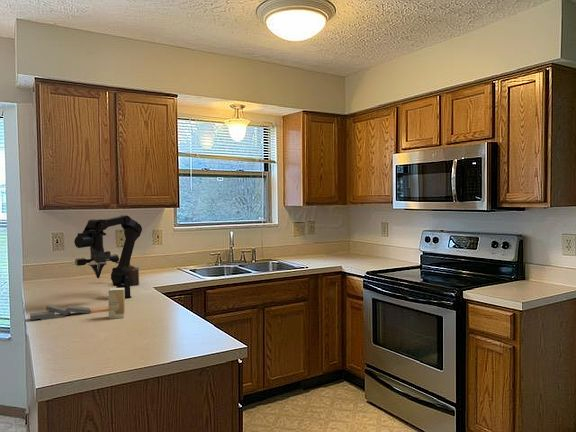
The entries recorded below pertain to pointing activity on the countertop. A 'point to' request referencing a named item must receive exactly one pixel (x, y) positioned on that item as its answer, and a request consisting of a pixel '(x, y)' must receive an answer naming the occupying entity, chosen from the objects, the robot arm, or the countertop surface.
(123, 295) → the skincare box
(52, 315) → the domino
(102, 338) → the countertop surface
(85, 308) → the domino
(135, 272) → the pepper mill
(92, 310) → the domino
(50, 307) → the domino
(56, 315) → the domino
